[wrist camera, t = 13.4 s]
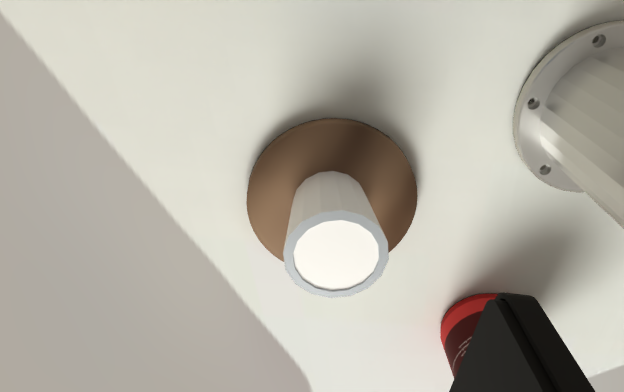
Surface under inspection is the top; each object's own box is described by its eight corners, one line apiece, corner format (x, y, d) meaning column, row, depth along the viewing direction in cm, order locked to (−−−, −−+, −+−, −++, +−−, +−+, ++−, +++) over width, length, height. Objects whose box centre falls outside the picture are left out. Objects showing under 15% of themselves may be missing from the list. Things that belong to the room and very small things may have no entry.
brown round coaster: (433, 131, 38) (437, 137, 37) (392, 272, 44) (394, 281, 43) (257, 106, 37) (256, 111, 36) (240, 255, 43) (238, 263, 42)
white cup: (300, 251, 41) (301, 309, 35) (271, 178, 38) (267, 228, 32) (383, 228, 40) (399, 284, 34) (361, 151, 37) (375, 198, 31)
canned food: (520, 350, 49) (576, 456, 39) (436, 357, 49) (471, 465, 39) (529, 286, 45) (593, 386, 36) (438, 294, 45) (478, 396, 36)
